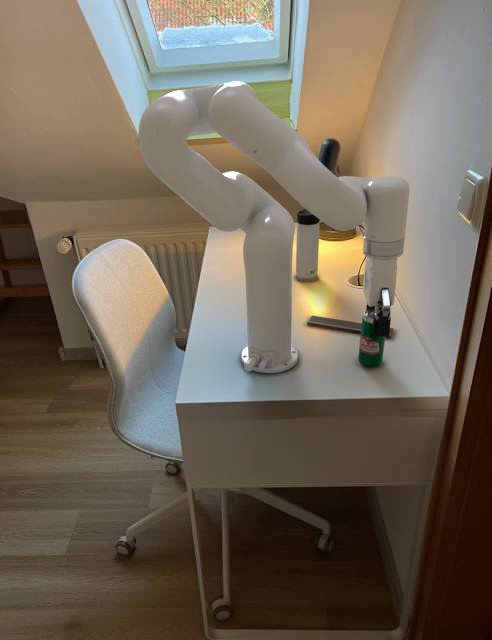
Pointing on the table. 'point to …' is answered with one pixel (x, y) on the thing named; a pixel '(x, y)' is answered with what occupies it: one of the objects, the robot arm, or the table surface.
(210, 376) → the table surface
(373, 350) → the soda can
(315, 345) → the table surface
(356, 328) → the ruler
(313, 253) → the travel mug
